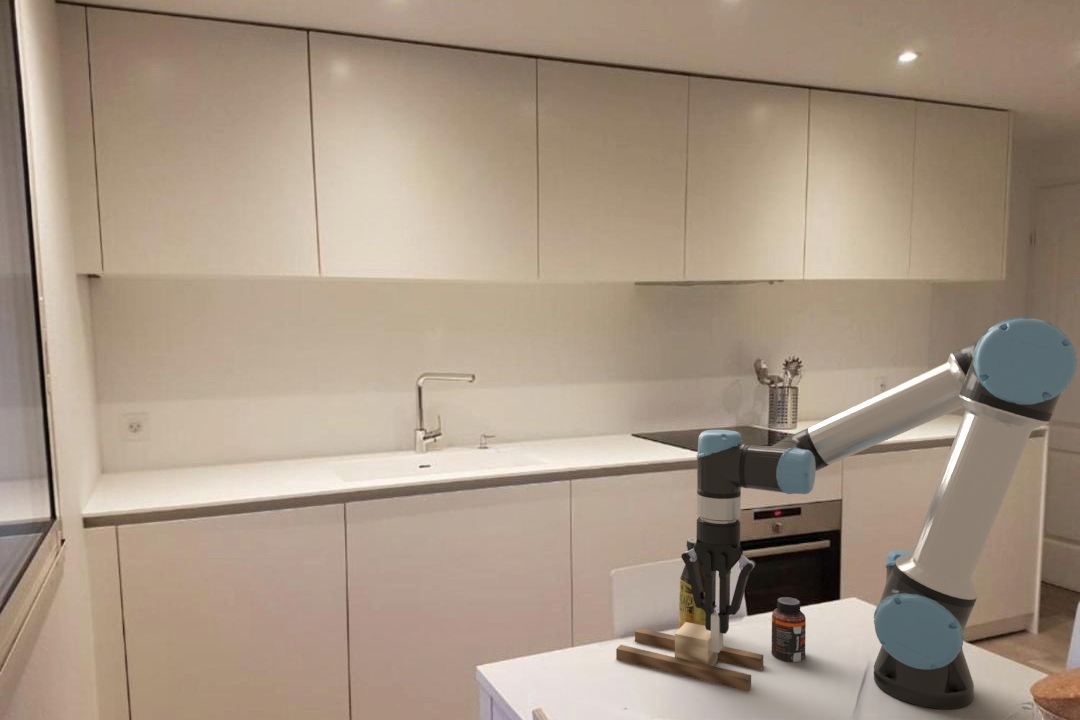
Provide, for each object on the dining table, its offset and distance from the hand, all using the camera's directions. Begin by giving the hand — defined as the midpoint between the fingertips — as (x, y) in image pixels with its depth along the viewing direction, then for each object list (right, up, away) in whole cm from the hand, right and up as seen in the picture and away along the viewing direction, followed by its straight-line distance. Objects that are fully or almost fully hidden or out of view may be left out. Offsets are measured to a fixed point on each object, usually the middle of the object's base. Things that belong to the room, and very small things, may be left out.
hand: (716, 649), depth 129 cm
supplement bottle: (+15, -5, +6) cm, 16 cm away
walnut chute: (-4, -5, +3) cm, 7 cm away
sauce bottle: (0, -4, +16) cm, 16 cm away
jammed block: (-3, -3, +2) cm, 5 cm away
